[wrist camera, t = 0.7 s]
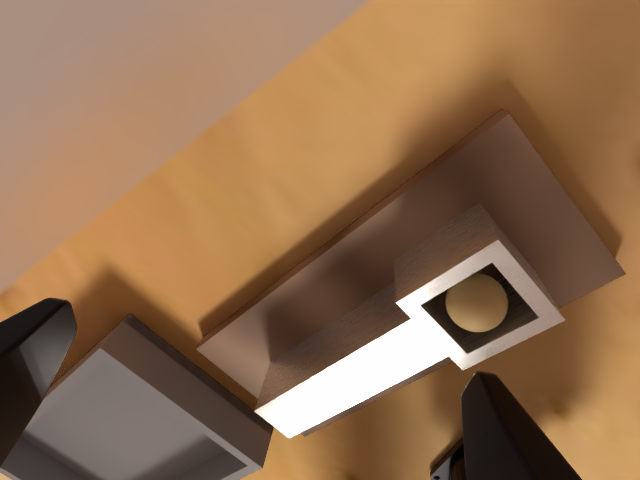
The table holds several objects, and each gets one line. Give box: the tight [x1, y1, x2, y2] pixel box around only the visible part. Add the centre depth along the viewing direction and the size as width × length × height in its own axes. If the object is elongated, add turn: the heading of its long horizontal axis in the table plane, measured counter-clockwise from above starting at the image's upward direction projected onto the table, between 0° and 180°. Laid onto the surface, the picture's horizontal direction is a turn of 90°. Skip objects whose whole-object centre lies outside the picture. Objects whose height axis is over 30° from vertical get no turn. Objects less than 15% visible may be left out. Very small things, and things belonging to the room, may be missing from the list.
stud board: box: [196, 109, 626, 436], centre depth 23 cm, size 24×11×6 cm, turn 134°
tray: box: [0, 314, 274, 480], centre depth 34 cm, size 22×15×4 cm
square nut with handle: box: [254, 202, 565, 438], centre depth 23 cm, size 17×5×4 cm, turn 134°
